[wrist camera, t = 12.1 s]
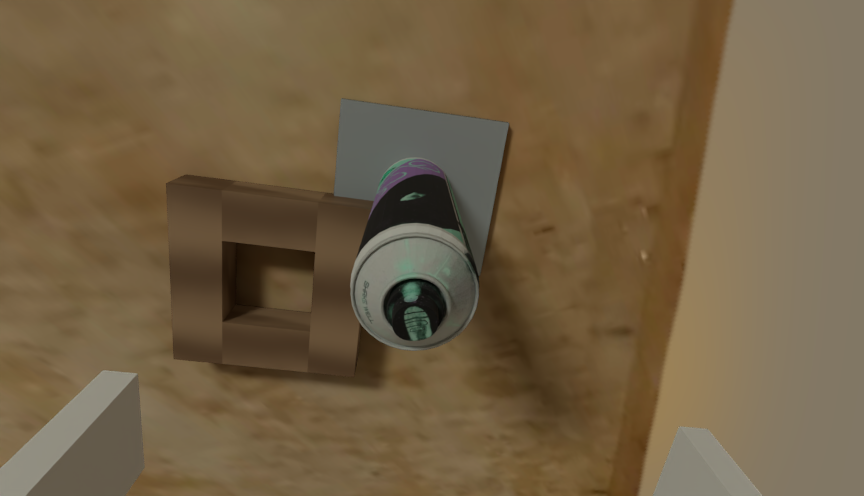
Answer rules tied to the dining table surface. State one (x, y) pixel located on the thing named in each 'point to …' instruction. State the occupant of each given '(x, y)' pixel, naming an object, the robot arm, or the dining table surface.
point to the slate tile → (423, 156)
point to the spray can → (414, 261)
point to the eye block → (216, 274)
